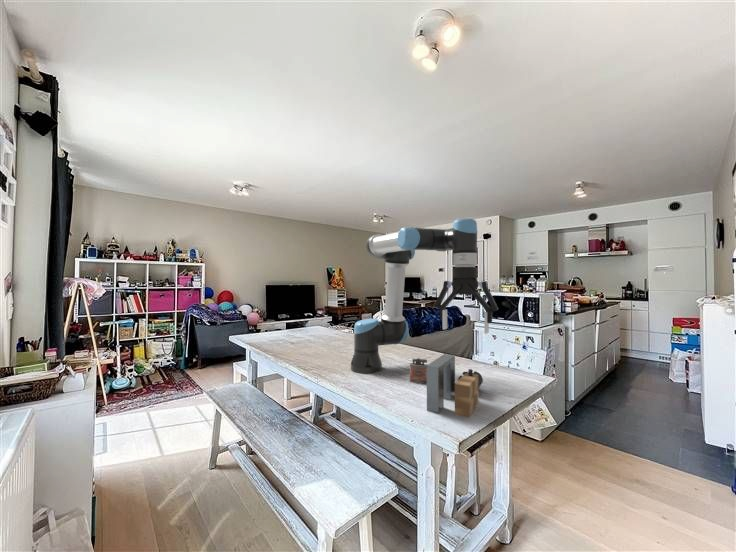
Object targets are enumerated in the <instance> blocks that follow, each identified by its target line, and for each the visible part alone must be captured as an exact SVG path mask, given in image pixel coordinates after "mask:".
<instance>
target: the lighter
mask: <svg viewBox="0 0 736 552" xmlns="http://www.w3.org/2000/svg"><path fill="white" fill-rule="evenodd" d="M426 363H428V360H427V358H420V357H417V358H412V362H410V363H409V382H410V383H414V384H419V385H421V384H422V385H427V365H428V364H426Z"/></svg>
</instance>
